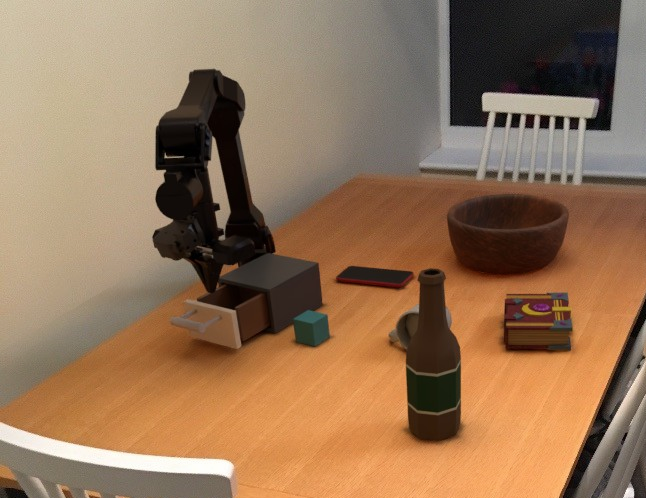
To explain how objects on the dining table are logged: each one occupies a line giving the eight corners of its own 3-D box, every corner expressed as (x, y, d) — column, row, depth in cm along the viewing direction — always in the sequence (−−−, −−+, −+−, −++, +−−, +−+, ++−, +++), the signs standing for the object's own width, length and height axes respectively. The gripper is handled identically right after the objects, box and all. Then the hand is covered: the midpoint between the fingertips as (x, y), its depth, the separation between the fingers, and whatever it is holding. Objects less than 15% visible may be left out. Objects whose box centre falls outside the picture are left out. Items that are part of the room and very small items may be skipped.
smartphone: (349, 265, 177) (415, 271, 172) (349, 269, 178) (415, 275, 172) (334, 277, 172) (401, 284, 166) (334, 282, 172) (402, 288, 167)
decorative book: (503, 351, 142) (504, 324, 139) (504, 312, 155) (505, 287, 152) (571, 352, 141) (573, 324, 138) (566, 313, 154) (568, 287, 151)
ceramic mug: (455, 338, 147) (454, 297, 143) (435, 357, 141) (434, 315, 137) (401, 330, 152) (399, 289, 147) (380, 348, 146) (377, 307, 142)
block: (295, 341, 150) (292, 318, 147) (310, 332, 153) (308, 309, 150) (315, 346, 148) (312, 323, 145) (329, 337, 151) (327, 314, 148)
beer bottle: (405, 417, 126) (399, 263, 112) (456, 412, 126) (456, 259, 112) (411, 444, 119) (405, 285, 106) (465, 439, 120) (465, 280, 106)
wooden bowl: (431, 274, 173) (430, 225, 167) (467, 235, 192) (467, 190, 186) (550, 286, 164) (554, 235, 159) (576, 244, 183) (580, 196, 177)
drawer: (214, 362, 142) (207, 325, 139) (167, 349, 148) (159, 313, 144) (285, 320, 155) (281, 286, 151) (239, 309, 161) (234, 275, 157)
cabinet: (275, 333, 153) (269, 289, 148) (224, 320, 159) (217, 277, 154) (322, 305, 163) (318, 262, 158) (273, 294, 169) (267, 252, 164)
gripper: (117, 206, 133) (138, 298, 142) (198, 223, 123) (216, 320, 132) (169, 187, 140) (187, 276, 149) (250, 202, 131) (263, 296, 140)
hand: (211, 292), depth 142 cm, fingers closed
